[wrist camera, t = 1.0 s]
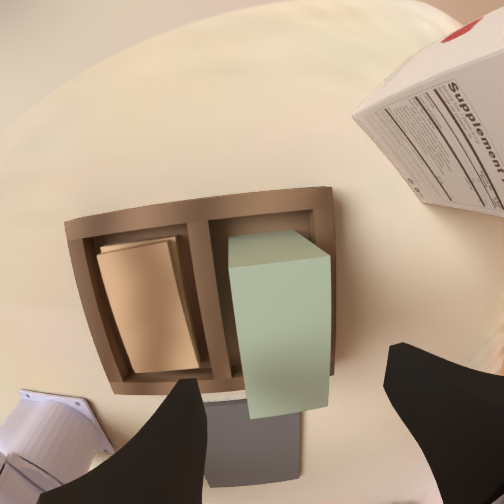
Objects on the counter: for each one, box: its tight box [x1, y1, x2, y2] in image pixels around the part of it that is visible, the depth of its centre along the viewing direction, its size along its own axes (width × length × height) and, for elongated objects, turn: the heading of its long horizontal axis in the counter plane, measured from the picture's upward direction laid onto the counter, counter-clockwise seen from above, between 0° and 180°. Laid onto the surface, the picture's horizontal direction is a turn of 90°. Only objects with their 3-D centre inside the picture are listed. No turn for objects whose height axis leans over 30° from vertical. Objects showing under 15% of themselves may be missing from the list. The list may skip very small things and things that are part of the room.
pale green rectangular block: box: [228, 230, 331, 419], centre depth 15 cm, size 4×8×7 cm, turn 6°
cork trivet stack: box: [97, 235, 201, 373], centre depth 18 cm, size 5×9×2 cm, turn 6°
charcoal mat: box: [203, 399, 300, 488], centre depth 23 cm, size 10×14×1 cm
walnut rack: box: [64, 186, 336, 395], centre depth 18 cm, size 17×13×2 cm
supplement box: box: [352, 7, 504, 218], centre depth 11 cm, size 9×9×15 cm
